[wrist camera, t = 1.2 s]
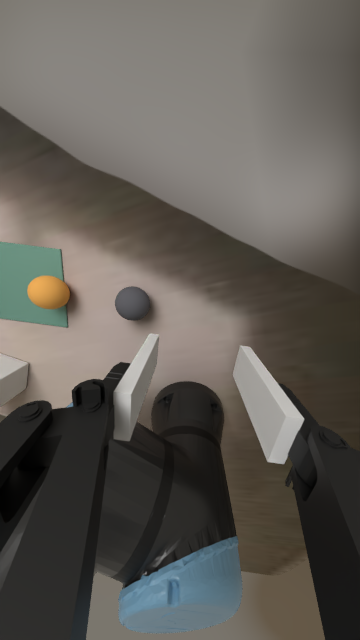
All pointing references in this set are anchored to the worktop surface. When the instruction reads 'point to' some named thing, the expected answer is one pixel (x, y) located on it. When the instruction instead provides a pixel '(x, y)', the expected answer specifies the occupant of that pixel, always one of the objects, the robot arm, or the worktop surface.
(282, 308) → the worktop surface
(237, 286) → the worktop surface
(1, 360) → the milk carton
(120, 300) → the dark gray ball
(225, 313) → the worktop surface
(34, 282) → the object ball
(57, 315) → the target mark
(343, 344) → the worktop surface
